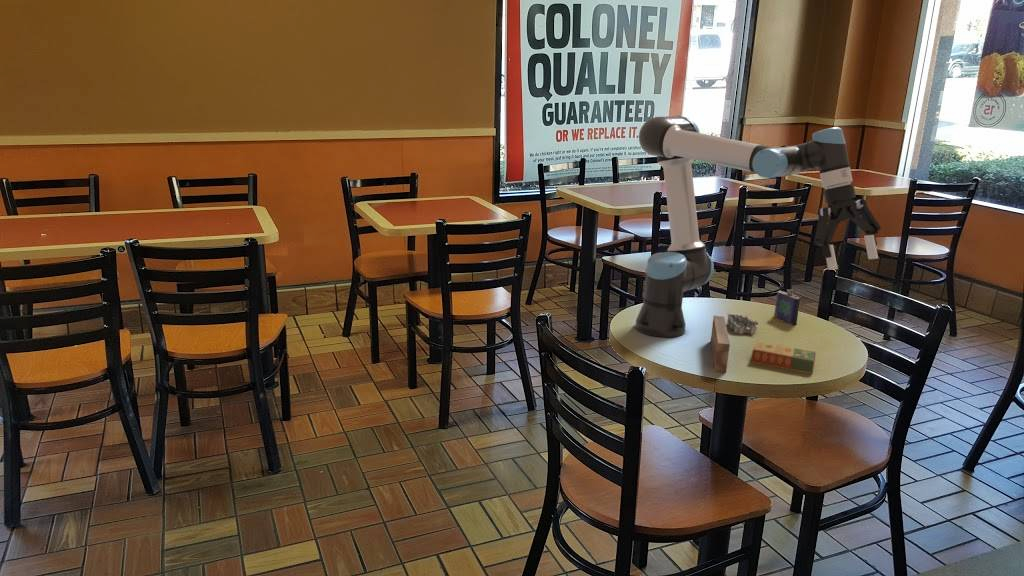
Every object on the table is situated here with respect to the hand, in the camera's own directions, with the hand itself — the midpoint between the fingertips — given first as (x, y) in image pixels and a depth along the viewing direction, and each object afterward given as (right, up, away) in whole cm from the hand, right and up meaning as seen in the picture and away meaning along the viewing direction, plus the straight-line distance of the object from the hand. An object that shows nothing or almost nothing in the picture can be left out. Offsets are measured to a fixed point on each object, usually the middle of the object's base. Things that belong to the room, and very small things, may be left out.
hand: (853, 264), depth 197 cm
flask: (-2, -17, +44) cm, 47 cm away
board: (-33, -26, +11) cm, 43 cm away
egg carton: (-20, -20, +34) cm, 44 cm away
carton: (-16, -28, +7) cm, 33 cm away
